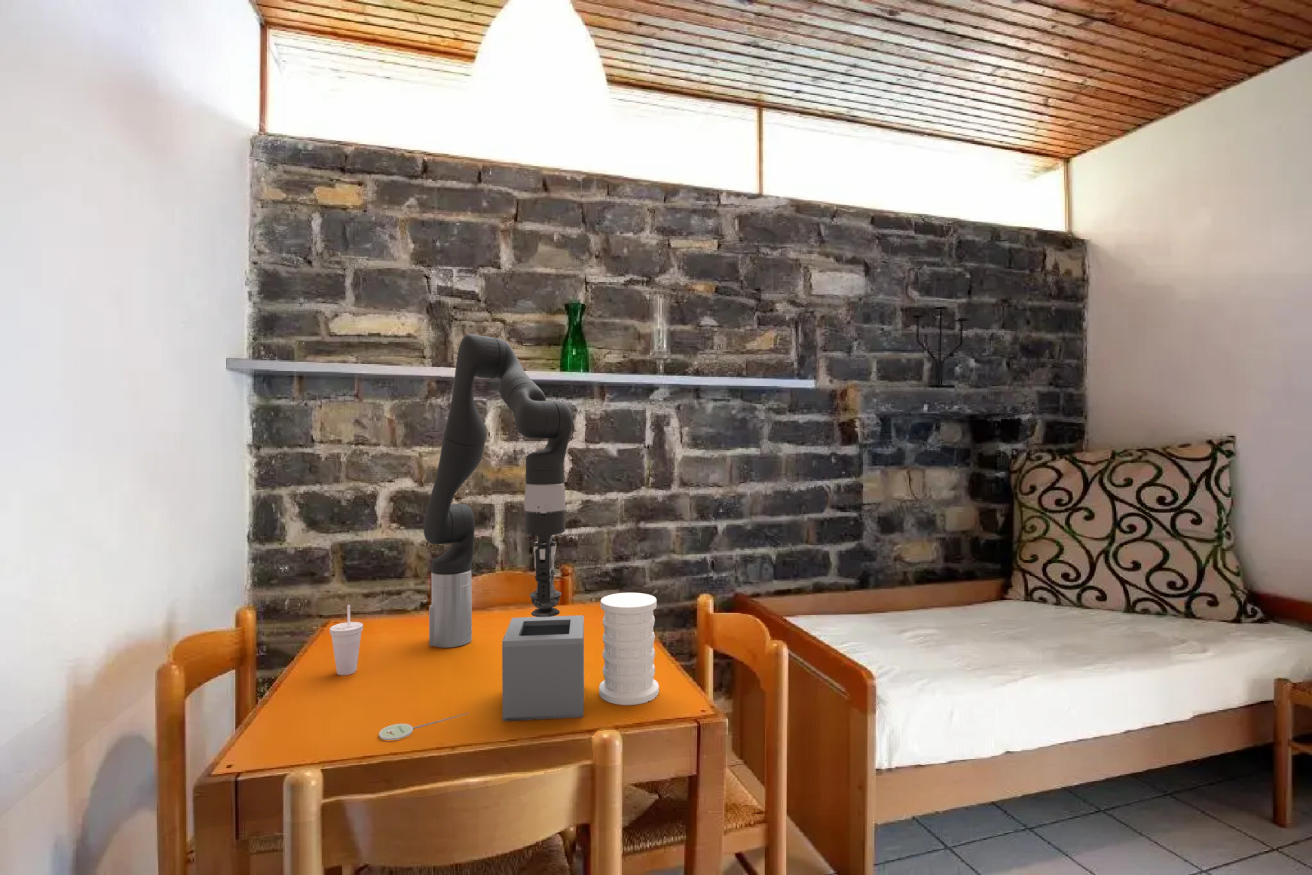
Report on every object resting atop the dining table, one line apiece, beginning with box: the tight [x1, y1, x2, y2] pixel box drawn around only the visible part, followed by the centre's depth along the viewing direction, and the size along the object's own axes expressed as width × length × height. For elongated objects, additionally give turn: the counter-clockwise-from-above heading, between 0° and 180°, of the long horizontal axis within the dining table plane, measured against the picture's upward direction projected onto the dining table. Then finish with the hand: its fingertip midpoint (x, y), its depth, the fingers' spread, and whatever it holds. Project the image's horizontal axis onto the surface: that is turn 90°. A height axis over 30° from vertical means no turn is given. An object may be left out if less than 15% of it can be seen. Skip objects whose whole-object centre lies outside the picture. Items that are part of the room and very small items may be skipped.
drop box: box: [501, 614, 585, 722], centre depth 116 cm, size 14×14×14 cm
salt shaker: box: [529, 561, 562, 617], centre depth 116 cm, size 6×6×12 cm
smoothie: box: [329, 604, 364, 676], centre depth 131 cm, size 6×6×14 cm
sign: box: [378, 712, 470, 741], centre depth 107 cm, size 5×1×15 cm
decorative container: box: [598, 592, 660, 706], centre depth 121 cm, size 12×12×18 cm
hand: (545, 597), depth 116 cm, fingers closed on salt shaker, 6 cm apart
